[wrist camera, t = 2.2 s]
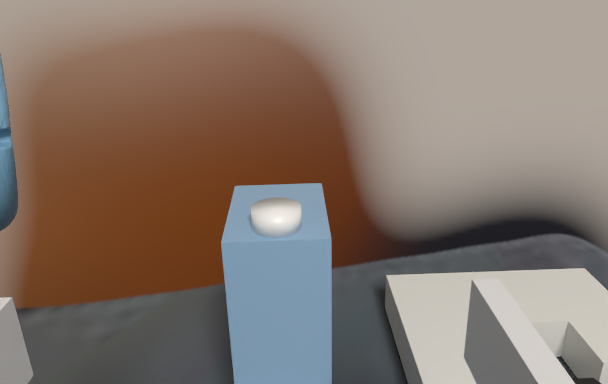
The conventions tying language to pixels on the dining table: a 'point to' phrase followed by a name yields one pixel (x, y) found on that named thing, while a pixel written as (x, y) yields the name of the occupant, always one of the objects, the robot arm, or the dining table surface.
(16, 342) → the robot arm
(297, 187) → the servo
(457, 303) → the frame
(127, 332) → the dining table surface
